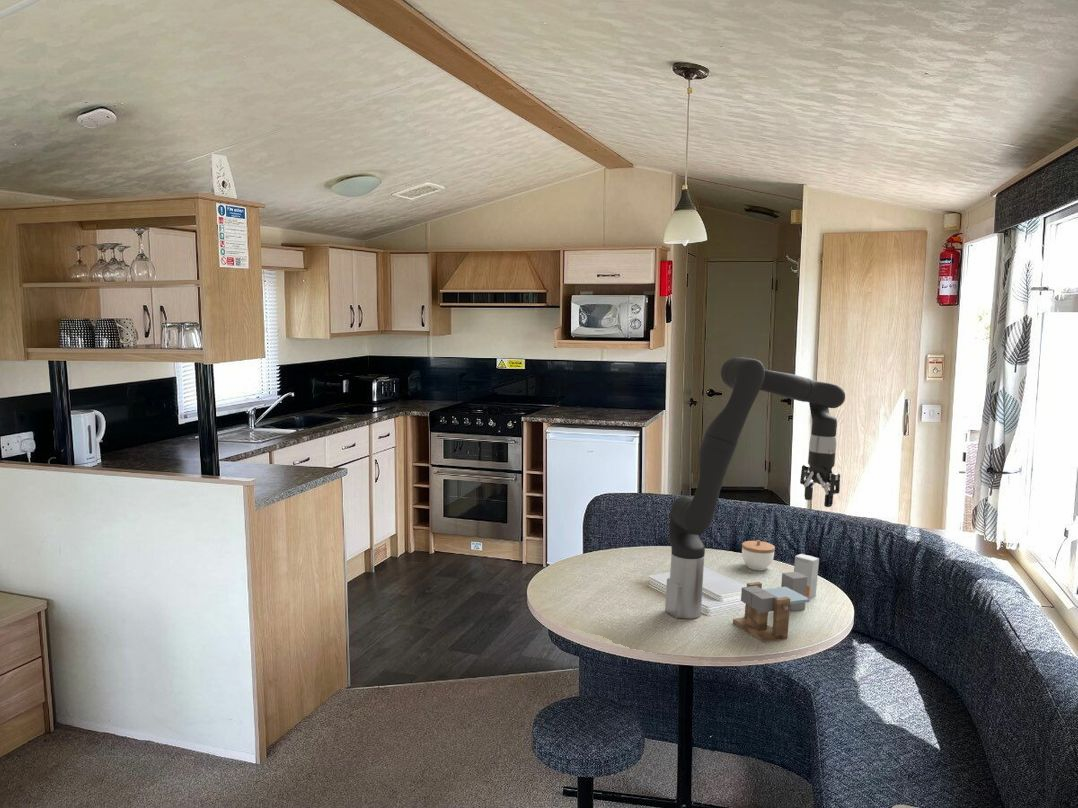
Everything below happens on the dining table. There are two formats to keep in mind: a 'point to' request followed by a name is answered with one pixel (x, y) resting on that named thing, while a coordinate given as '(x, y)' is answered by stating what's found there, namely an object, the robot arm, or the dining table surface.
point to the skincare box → (808, 572)
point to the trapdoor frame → (758, 621)
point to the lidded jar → (757, 554)
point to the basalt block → (795, 587)
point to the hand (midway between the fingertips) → (817, 503)
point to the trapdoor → (769, 597)
